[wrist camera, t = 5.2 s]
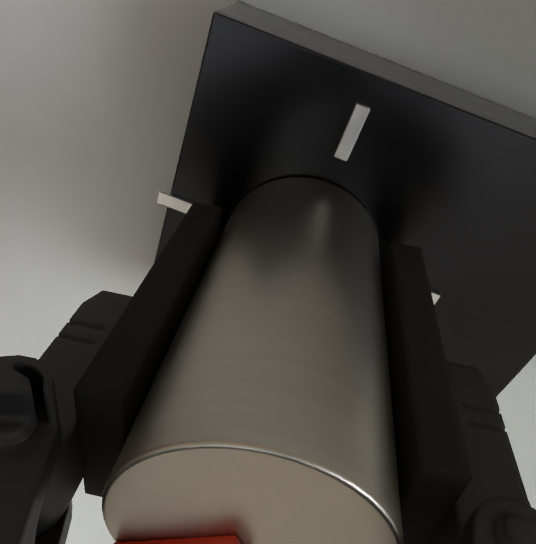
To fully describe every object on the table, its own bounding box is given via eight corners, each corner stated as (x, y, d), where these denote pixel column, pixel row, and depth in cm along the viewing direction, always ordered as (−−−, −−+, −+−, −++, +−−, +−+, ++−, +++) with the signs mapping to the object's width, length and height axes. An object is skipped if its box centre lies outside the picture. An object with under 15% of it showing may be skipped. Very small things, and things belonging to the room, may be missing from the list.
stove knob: (354, 155, 12) (356, 447, 5) (394, 292, 14) (435, 639, 7) (201, 201, 14) (28, 483, 6) (257, 320, 16) (175, 636, 9)
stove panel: (625, 153, 14) (686, 199, 12) (447, 375, 20) (461, 439, 17) (229, -4, 14) (198, 6, 11) (160, 272, 19) (129, 323, 17)
